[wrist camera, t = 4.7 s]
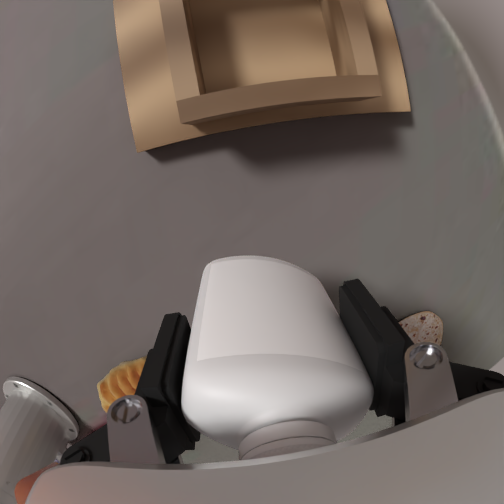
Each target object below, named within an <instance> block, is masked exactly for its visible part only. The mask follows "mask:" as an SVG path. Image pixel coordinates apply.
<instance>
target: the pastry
mask: <svg viewBox="0 0 504 504" xmlns="http://www.w3.org/2000/svg"><path fill="white" fill-rule="evenodd" d="M146 358H147V356H144V357H141V358H139V359H135V360H132V361H124V362H121V363H120V365H118V366H117V367H115V368H113V369H112V370H110V373H109V374H107V375H106V376H105V378H104V379H103V380H101V381H100V382H99V383H98V384H97V388H98V391H99V397H100V400H101V403H102V407H103V409H104V410H105V412H106V413H107V411H108V409H109V407H110V405H111V404H112V403H113V402H114V401H115V400H117V399H118V398H120V397H123V396H126V395H134V394H135V391H136V388H137V385H138V382H139V379H140V375H141V372H142V369H143V367H144V364H145V361H146Z"/></svg>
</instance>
